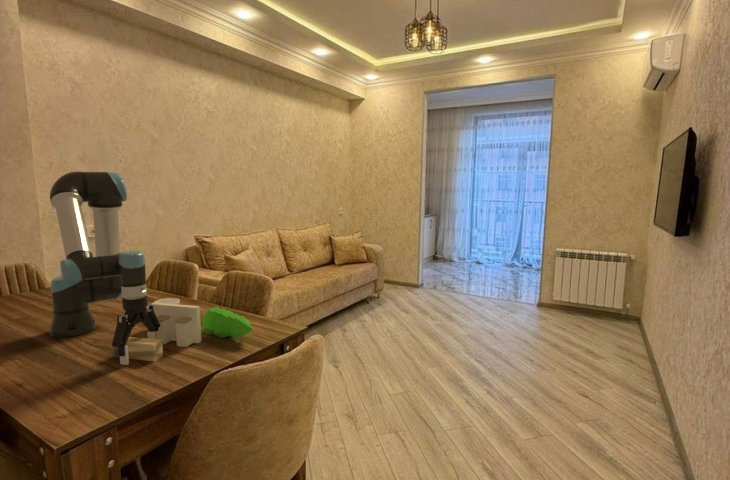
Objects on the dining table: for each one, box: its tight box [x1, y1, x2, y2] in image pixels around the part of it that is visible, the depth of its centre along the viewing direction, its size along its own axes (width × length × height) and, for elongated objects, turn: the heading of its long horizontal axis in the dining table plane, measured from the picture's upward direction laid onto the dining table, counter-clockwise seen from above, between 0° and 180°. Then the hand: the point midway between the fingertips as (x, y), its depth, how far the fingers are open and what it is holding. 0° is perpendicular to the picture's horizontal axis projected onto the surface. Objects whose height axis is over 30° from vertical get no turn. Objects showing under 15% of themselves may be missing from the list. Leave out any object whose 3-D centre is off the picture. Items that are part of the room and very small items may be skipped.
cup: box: [153, 297, 181, 305], centre depth 167 cm, size 10×10×11 cm
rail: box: [113, 336, 164, 362], centre depth 138 cm, size 4×16×6 cm, turn 78°
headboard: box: [149, 302, 202, 348], centre depth 151 cm, size 20×6×14 cm, turn 78°
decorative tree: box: [200, 306, 254, 339], centre depth 157 cm, size 11×12×30 cm
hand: (139, 356), depth 139 cm, fingers open, 12 cm apart
